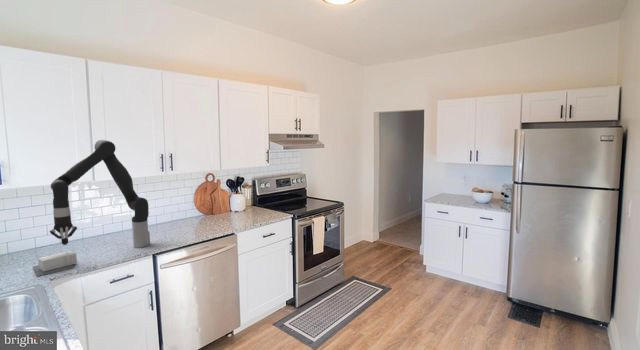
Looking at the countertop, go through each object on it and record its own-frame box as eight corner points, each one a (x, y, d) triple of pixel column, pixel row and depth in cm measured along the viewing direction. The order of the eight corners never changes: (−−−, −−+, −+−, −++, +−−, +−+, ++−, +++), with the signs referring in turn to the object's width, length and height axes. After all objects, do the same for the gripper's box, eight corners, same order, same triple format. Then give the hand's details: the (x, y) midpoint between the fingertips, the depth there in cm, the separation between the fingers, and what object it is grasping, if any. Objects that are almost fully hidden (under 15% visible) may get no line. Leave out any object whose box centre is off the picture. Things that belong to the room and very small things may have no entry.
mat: (68, 259, 195) (68, 258, 195) (74, 267, 183) (74, 266, 182) (33, 267, 183) (32, 266, 183) (37, 276, 171) (37, 275, 171)
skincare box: (72, 260, 192) (38, 269, 180) (71, 249, 191) (37, 257, 179) (77, 263, 187) (43, 272, 175) (76, 252, 186) (41, 260, 174)
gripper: (75, 212, 191) (77, 240, 193) (46, 216, 182) (49, 245, 184) (77, 214, 186) (80, 243, 188) (48, 218, 176) (51, 249, 178)
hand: (65, 244), depth 186 cm, fingers closed
